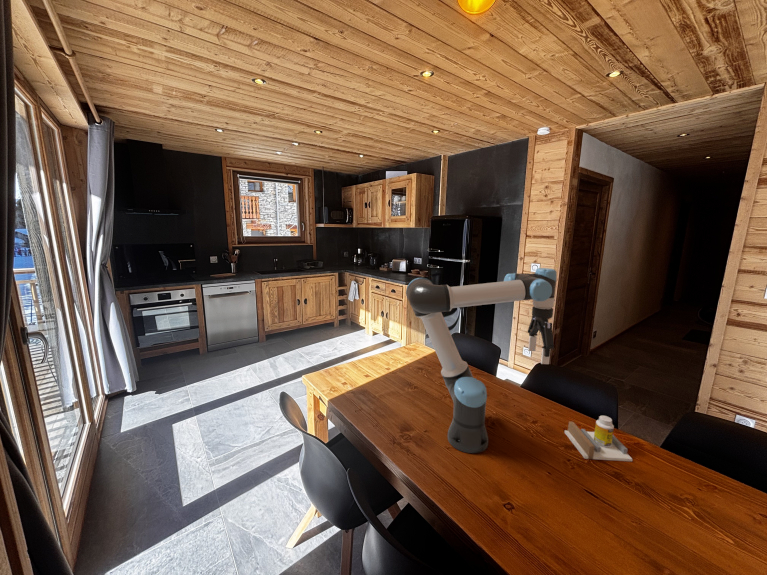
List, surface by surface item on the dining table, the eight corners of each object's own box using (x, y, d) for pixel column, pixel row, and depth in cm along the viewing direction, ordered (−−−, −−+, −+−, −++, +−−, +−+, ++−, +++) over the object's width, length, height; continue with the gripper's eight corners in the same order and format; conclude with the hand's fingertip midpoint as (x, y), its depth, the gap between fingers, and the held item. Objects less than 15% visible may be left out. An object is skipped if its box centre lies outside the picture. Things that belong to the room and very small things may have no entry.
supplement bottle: (607, 449, 116) (610, 424, 114) (590, 441, 121) (593, 416, 119) (613, 444, 119) (617, 419, 117) (597, 436, 124) (600, 412, 122)
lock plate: (584, 458, 113) (586, 446, 112) (564, 432, 128) (565, 421, 127) (632, 461, 112) (634, 448, 111) (606, 434, 126) (607, 423, 126)
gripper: (567, 315, 115) (561, 370, 118) (539, 300, 139) (535, 346, 143) (546, 314, 115) (540, 369, 119) (522, 300, 140) (518, 346, 143)
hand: (538, 357), depth 131 cm, fingers open, 13 cm apart
